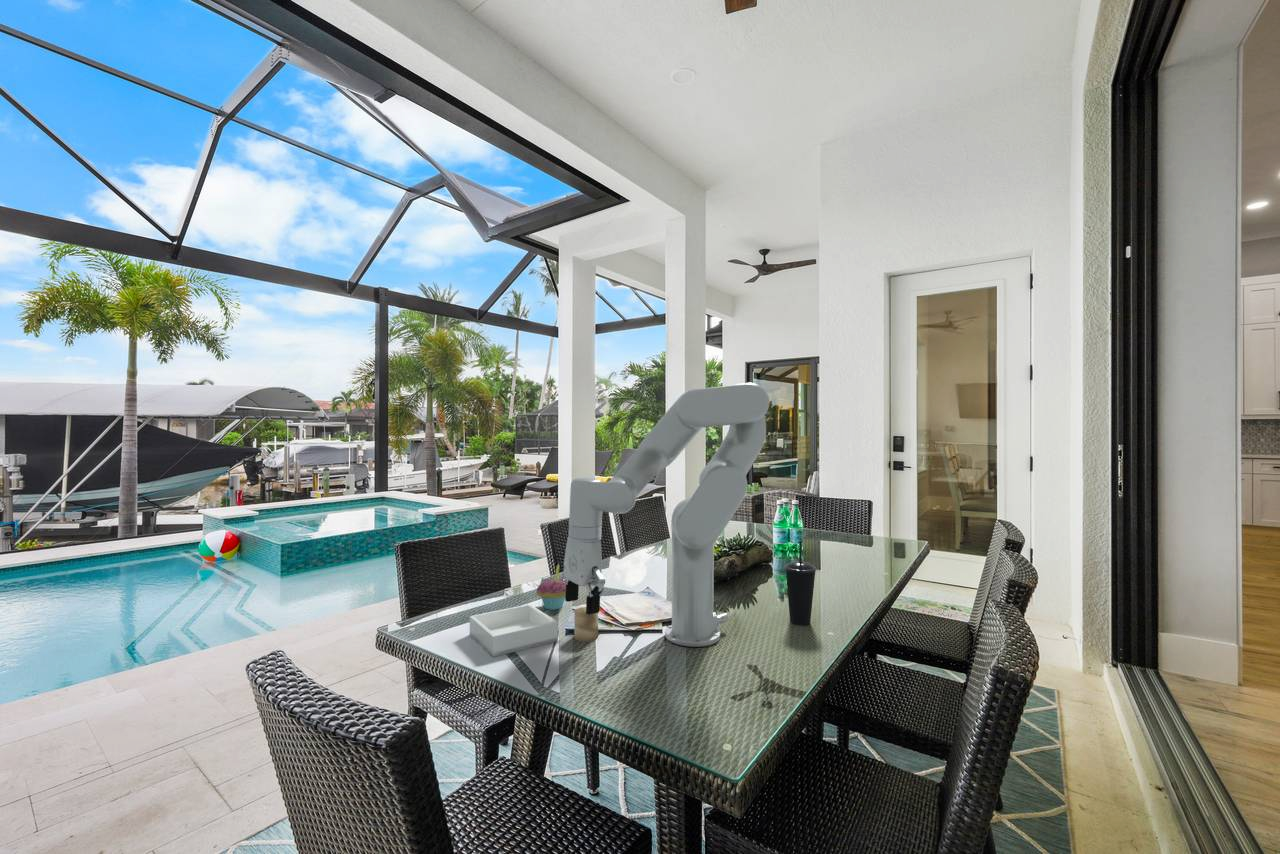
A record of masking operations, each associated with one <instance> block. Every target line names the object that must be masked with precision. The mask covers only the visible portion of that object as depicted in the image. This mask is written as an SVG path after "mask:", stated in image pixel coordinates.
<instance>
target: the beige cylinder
mask: <svg viewBox="0 0 1280 854" xmlns="http://www.w3.org/2000/svg"><path fill="white" fill-rule="evenodd" d="M573 617H574V630H573V631H574V636H573V637H574V639H575V640H576V641H578V642H584V643H585V642H592V641H595V640H597V639H599V613H594V614H589V615H588V614H586V606H583V607H579V608H576V609H575V610H574V616H573Z"/></svg>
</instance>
